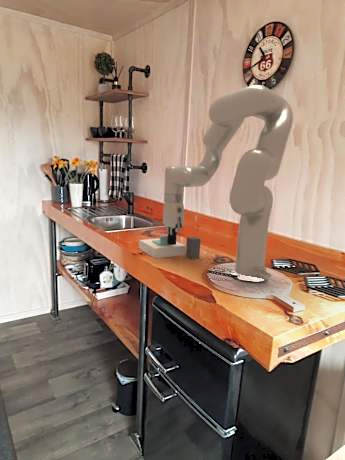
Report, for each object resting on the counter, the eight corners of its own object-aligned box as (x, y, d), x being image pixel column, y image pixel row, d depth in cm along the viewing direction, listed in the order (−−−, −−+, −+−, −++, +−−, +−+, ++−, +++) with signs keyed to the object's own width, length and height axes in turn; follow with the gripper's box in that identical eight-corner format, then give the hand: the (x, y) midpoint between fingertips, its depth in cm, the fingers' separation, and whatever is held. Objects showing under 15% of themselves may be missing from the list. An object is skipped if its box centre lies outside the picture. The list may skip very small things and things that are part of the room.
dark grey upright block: (199, 258, 130) (200, 239, 129) (190, 259, 128) (191, 239, 127) (194, 255, 134) (195, 237, 132) (185, 256, 132) (186, 237, 130)
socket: (185, 255, 134) (185, 245, 133) (155, 258, 127) (155, 248, 127) (167, 246, 148) (167, 237, 147) (139, 248, 141) (139, 240, 140)
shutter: (174, 244, 134) (174, 235, 134) (159, 245, 131) (159, 237, 131) (166, 240, 141) (167, 232, 140) (152, 241, 137) (152, 233, 137)
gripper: (191, 200, 121) (189, 247, 124) (172, 196, 134) (171, 239, 137) (174, 200, 117) (172, 249, 121) (156, 196, 130) (155, 240, 134)
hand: (171, 244), depth 129 cm, fingers closed
